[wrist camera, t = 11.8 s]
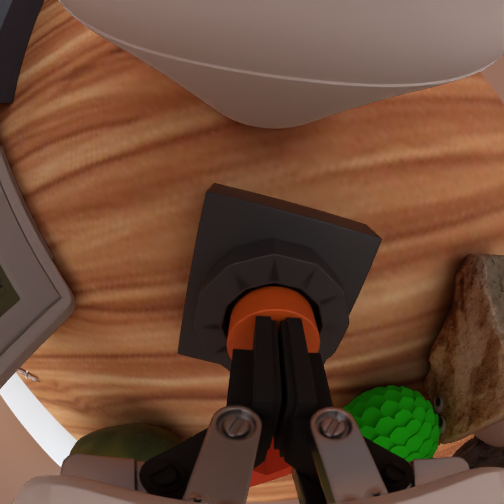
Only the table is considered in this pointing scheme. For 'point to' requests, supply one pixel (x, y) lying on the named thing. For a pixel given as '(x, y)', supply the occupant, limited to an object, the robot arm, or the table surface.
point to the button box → (271, 266)
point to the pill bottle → (300, 49)
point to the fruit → (127, 442)
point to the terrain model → (481, 454)
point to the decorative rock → (470, 352)
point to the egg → (493, 434)
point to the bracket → (270, 468)
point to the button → (270, 304)
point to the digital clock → (25, 281)
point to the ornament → (397, 421)
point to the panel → (14, 41)
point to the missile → (27, 375)
